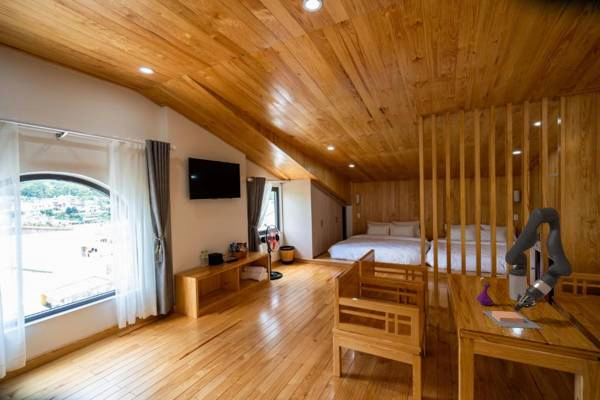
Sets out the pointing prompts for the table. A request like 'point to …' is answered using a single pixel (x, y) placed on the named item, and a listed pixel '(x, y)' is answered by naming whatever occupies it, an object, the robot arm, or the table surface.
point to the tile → (507, 317)
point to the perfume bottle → (485, 295)
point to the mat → (526, 323)
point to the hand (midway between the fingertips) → (515, 309)
